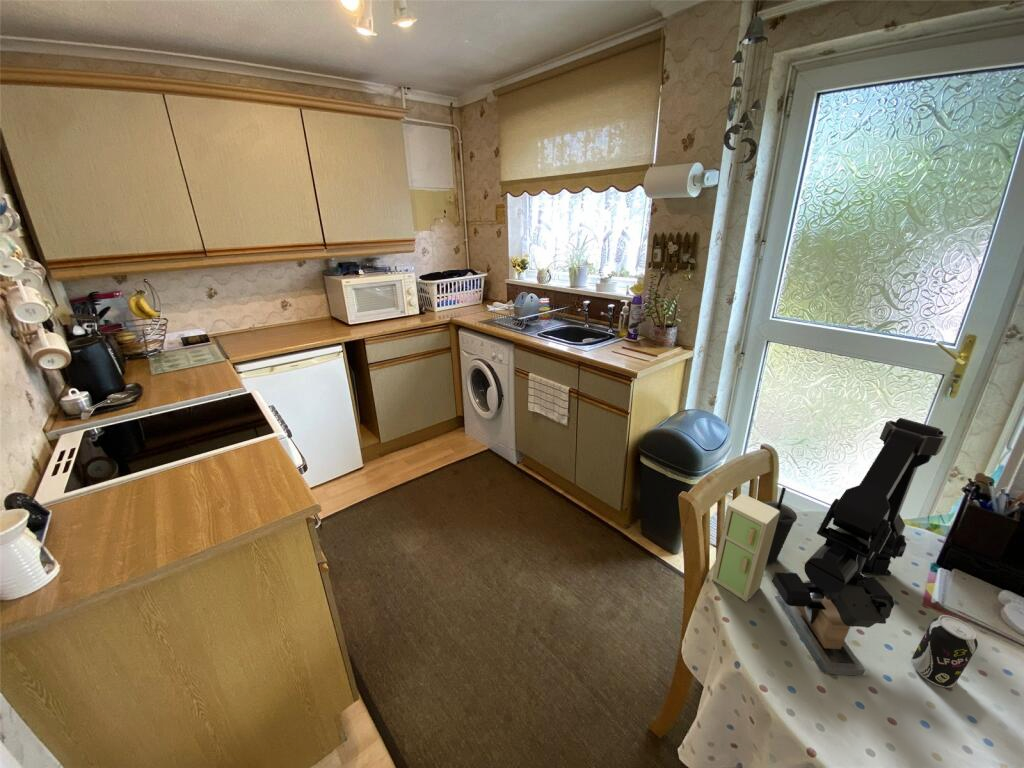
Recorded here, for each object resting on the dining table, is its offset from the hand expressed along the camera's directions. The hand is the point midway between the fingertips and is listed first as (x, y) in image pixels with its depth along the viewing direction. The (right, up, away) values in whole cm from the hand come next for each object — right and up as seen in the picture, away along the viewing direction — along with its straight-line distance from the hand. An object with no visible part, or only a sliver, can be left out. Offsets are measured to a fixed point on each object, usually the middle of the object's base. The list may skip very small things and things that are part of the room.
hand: (818, 622), depth 81 cm
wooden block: (0, -1, 0) cm, 1 cm away
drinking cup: (+1, +5, +20) cm, 20 cm away
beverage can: (+15, -6, -7) cm, 18 cm away
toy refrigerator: (-10, +1, +12) cm, 16 cm away
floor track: (0, -3, +1) cm, 3 cm away
